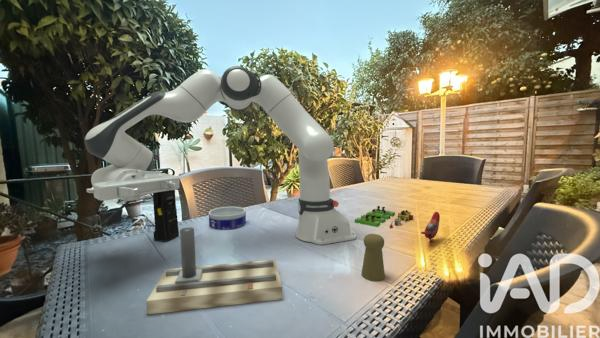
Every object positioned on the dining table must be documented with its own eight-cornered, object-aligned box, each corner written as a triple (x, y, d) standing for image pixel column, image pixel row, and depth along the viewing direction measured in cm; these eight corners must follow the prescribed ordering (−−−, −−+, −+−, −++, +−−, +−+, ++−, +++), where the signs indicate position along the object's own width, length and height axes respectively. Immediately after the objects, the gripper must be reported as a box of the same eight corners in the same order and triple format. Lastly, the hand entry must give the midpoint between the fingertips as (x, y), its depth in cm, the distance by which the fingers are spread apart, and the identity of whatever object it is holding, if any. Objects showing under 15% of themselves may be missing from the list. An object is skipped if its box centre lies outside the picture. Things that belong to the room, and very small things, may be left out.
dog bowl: (253, 222, 118) (253, 209, 117) (226, 232, 105) (226, 217, 104) (228, 217, 126) (228, 204, 125) (201, 226, 113) (200, 212, 112)
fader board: (275, 269, 74) (275, 256, 74) (282, 299, 61) (281, 282, 60) (167, 280, 69) (166, 265, 69) (147, 314, 56) (145, 296, 55)
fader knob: (202, 272, 66) (200, 225, 65) (198, 283, 61) (196, 232, 60) (180, 274, 65) (178, 226, 64) (175, 285, 60) (172, 233, 59)
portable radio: (166, 242, 94) (162, 172, 92) (151, 241, 96) (146, 171, 93) (180, 235, 102) (176, 169, 99) (166, 234, 103) (162, 169, 101)
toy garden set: (374, 212, 136) (374, 203, 135) (414, 218, 124) (414, 209, 124) (354, 223, 117) (354, 213, 117) (399, 232, 106) (399, 221, 105)
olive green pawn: (358, 270, 74) (359, 231, 73) (379, 269, 75) (380, 231, 73) (365, 281, 68) (366, 239, 67) (388, 280, 69) (390, 239, 67)
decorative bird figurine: (441, 237, 99) (443, 211, 98) (425, 252, 86) (426, 222, 85) (433, 235, 101) (434, 209, 99) (415, 250, 88) (417, 220, 87)
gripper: (82, 177, 66) (107, 182, 59) (162, 170, 83) (190, 173, 76) (84, 202, 67) (109, 210, 59) (163, 190, 84) (191, 195, 76)
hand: (155, 189), depth 68 cm, fingers open, 8 cm apart
